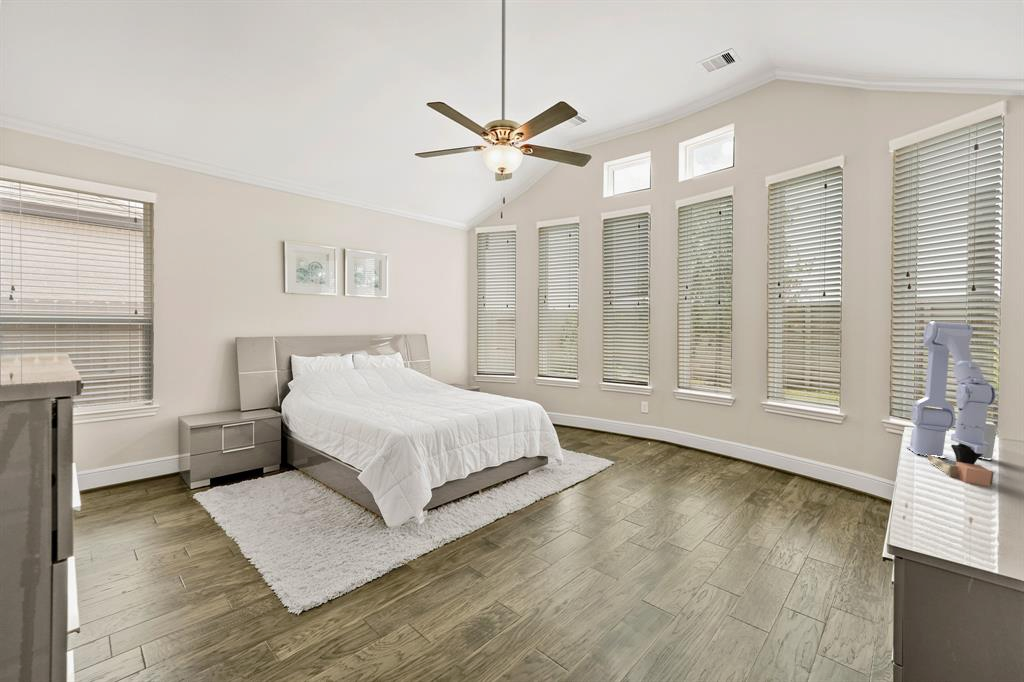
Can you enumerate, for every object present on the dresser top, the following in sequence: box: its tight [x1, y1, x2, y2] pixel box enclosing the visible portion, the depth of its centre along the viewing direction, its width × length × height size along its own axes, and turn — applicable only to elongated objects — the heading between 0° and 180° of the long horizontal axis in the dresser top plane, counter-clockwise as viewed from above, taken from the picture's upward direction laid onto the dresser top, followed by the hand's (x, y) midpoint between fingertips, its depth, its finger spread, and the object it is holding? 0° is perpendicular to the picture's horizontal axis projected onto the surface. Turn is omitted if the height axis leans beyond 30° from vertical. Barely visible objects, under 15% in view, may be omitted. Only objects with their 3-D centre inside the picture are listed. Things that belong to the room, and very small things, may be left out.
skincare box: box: [980, 420, 998, 459], centre depth 146 cm, size 6×4×12 cm
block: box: [955, 461, 993, 487], centre depth 124 cm, size 6×5×4 cm
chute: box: [926, 455, 995, 484], centre depth 131 cm, size 15×9×3 cm, turn 155°
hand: (963, 471), depth 128 cm, fingers closed
